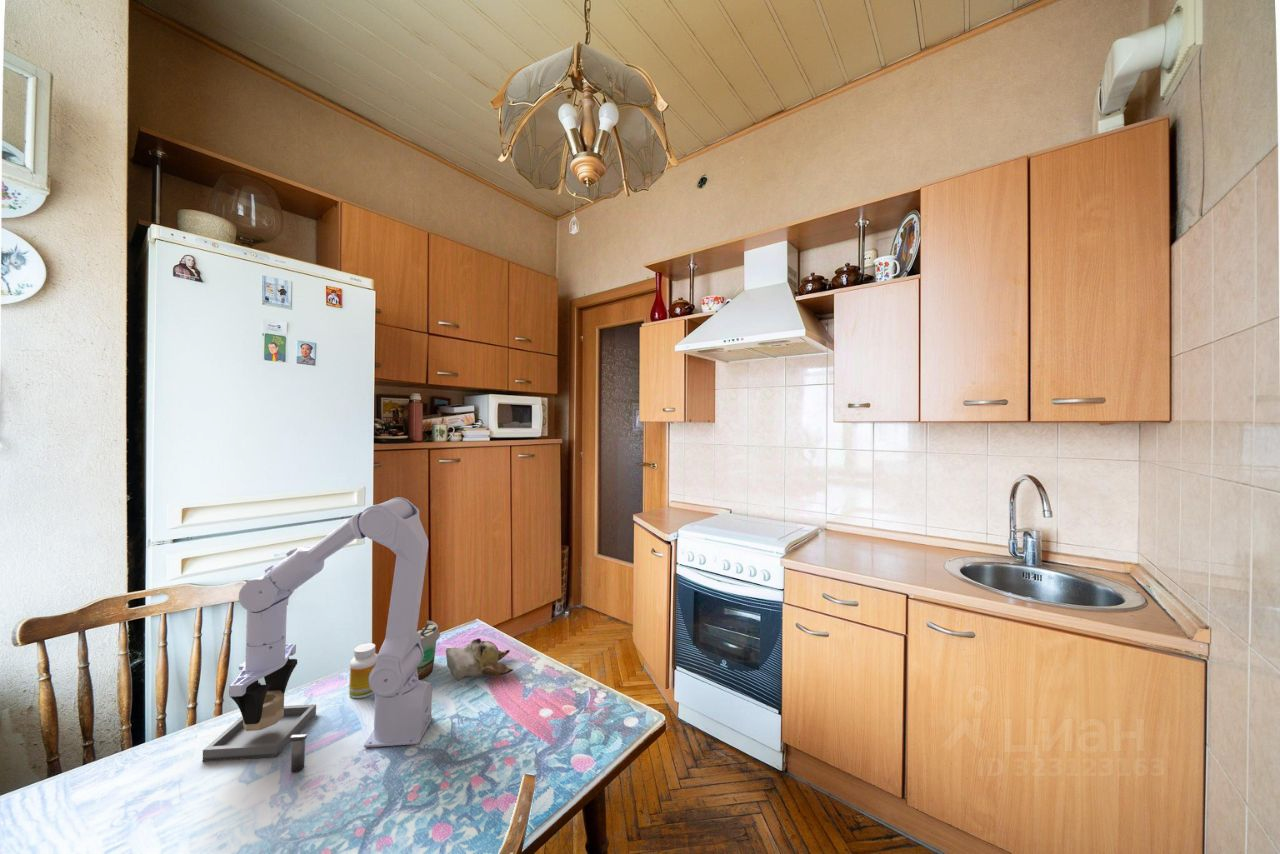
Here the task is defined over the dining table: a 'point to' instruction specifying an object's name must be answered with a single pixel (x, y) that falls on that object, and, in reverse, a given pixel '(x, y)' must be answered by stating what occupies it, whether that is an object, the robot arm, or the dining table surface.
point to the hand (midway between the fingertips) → (264, 712)
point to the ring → (269, 711)
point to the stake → (298, 752)
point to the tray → (259, 737)
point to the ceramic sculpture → (476, 660)
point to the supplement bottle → (362, 670)
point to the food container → (428, 648)
